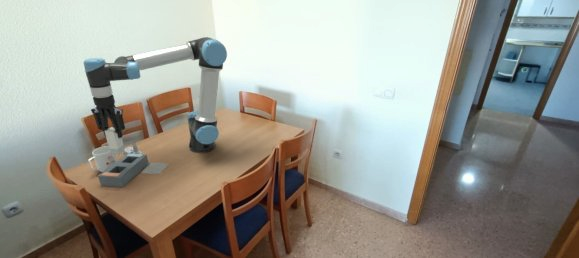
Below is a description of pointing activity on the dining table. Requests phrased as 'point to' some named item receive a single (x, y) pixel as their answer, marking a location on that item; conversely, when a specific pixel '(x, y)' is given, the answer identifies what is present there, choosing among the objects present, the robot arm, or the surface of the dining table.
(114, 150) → the plug
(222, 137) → the dining table surface
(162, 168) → the mat
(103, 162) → the mug
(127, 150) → the electronic device
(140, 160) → the dock
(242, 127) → the dining table surface
